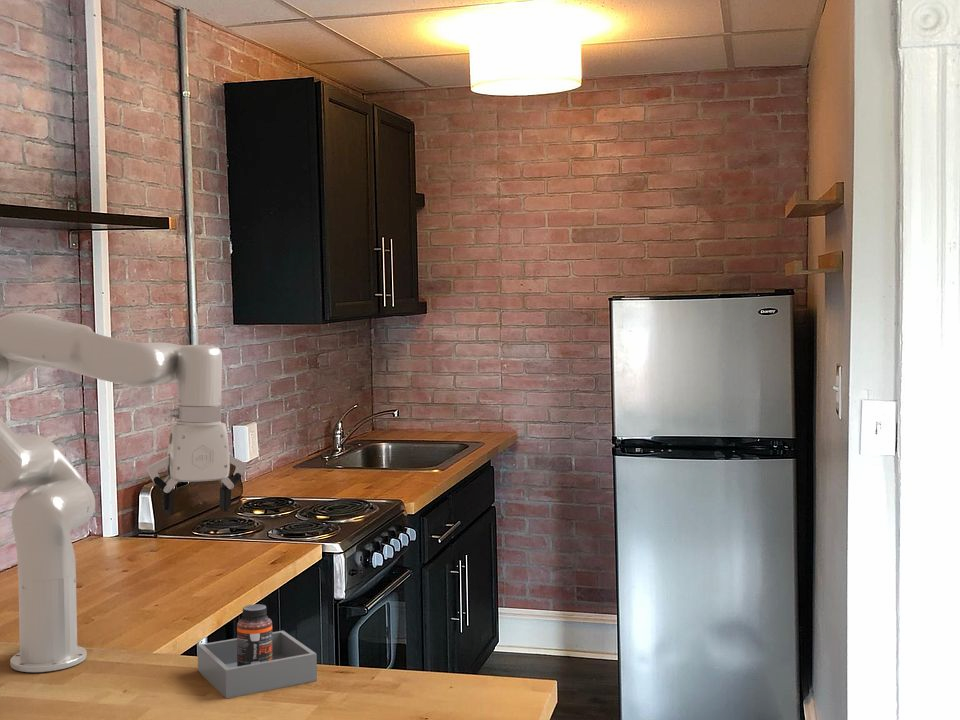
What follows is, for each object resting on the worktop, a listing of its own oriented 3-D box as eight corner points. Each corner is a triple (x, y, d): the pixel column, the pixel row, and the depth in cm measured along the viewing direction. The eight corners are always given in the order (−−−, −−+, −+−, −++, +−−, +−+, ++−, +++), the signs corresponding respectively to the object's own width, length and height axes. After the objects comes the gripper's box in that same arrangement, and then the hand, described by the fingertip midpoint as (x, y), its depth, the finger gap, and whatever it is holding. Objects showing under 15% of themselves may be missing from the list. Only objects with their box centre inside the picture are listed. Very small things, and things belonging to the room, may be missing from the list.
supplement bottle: (264, 679, 173) (263, 612, 173) (231, 677, 174) (230, 610, 174) (278, 667, 179) (277, 603, 179) (246, 665, 180) (245, 601, 180)
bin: (198, 671, 179) (197, 644, 179) (283, 655, 188) (283, 630, 187) (226, 698, 166) (225, 670, 166) (316, 680, 174) (316, 653, 174)
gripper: (153, 418, 173) (151, 519, 174) (253, 416, 182) (251, 512, 183) (143, 414, 180) (141, 511, 181) (240, 412, 189) (238, 505, 189)
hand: (196, 512), depth 182 cm, fingers open, 9 cm apart
